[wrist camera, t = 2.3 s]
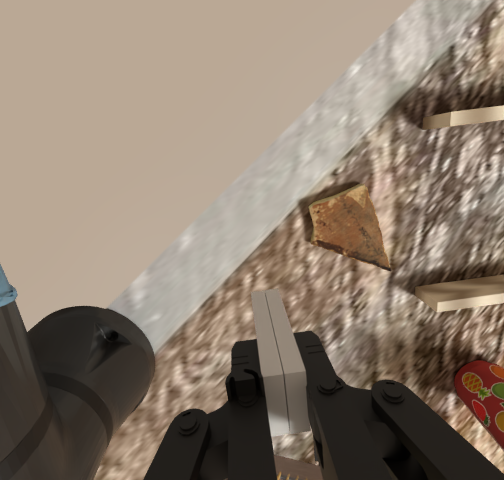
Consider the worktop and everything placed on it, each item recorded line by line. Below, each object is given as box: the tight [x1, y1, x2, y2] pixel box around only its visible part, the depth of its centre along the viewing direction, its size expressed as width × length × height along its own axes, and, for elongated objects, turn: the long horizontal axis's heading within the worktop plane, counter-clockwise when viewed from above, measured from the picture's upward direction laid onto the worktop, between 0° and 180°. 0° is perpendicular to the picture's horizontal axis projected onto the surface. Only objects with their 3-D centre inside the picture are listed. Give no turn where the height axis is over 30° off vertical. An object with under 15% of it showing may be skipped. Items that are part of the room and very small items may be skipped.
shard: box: [309, 184, 391, 271], centre depth 33 cm, size 11×8×2 cm
